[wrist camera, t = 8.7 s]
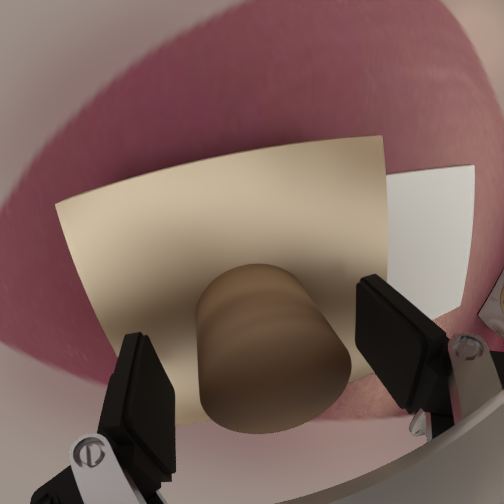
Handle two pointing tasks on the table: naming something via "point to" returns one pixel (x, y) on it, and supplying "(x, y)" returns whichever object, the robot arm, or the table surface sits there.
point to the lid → (240, 274)
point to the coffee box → (495, 308)
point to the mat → (430, 235)
